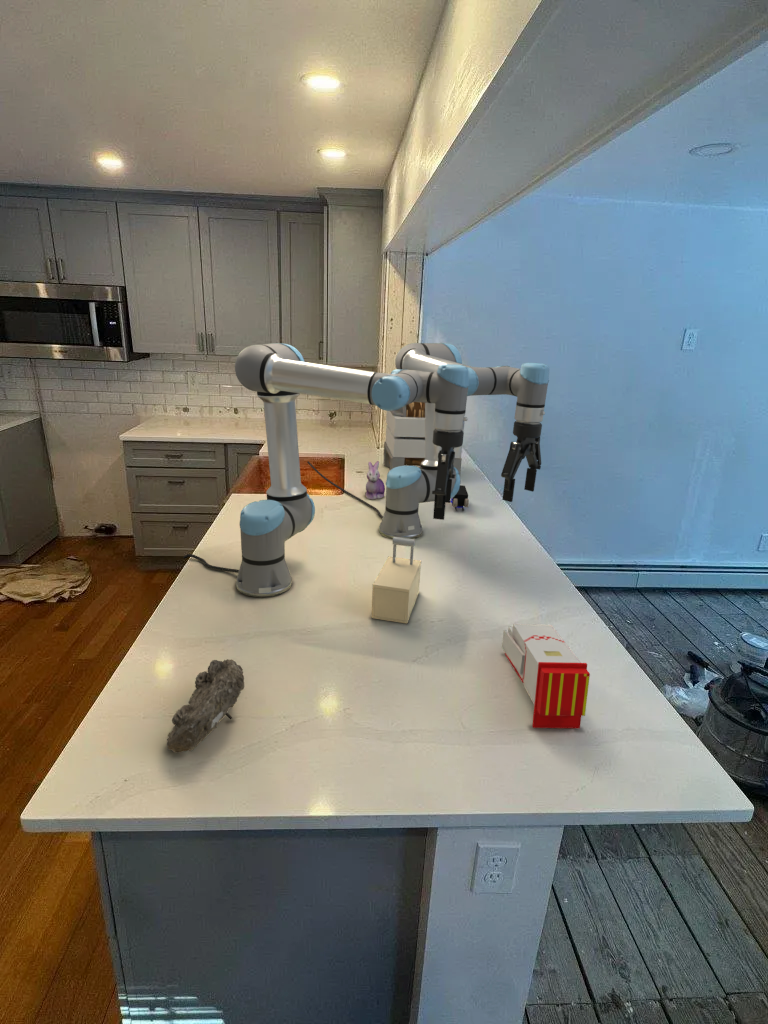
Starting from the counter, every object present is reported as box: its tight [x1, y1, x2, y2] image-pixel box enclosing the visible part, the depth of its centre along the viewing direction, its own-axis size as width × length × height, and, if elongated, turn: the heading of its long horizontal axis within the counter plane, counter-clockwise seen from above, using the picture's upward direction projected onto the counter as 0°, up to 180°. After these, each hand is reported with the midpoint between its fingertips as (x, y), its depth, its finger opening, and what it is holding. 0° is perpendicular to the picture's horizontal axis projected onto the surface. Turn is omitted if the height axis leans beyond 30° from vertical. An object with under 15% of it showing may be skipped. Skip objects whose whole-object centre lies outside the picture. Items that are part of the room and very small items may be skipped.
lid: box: [372, 537, 422, 592], centre depth 148 cm, size 18×9×8 cm, turn 167°
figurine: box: [364, 460, 386, 500], centre depth 235 cm, size 9×10×15 cm
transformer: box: [383, 402, 465, 476], centre depth 268 cm, size 34×33×41 cm
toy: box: [501, 623, 591, 729], centre depth 120 cm, size 12×13×30 cm
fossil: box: [166, 658, 245, 754], centre depth 106 cm, size 22×10×15 cm
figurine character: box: [450, 484, 470, 512], centre depth 229 cm, size 7×8×15 cm
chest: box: [370, 564, 422, 625], centre depth 151 cm, size 17×9×9 cm, turn 167°
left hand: (441, 510), depth 147 cm, fingers open, 13 cm apart
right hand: (518, 495), depth 162 cm, fingers open, 13 cm apart
